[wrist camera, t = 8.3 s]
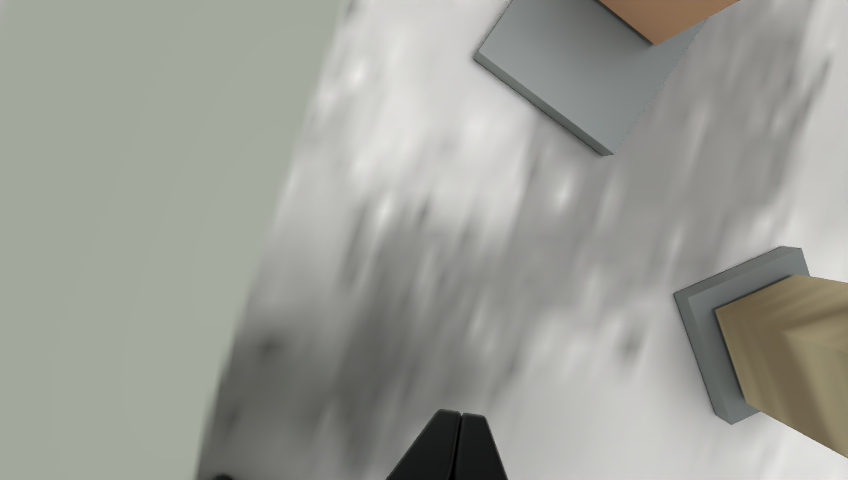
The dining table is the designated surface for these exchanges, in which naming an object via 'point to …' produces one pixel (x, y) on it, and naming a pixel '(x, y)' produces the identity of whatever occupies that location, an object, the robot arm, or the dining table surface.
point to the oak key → (794, 355)
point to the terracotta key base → (581, 65)
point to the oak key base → (707, 332)
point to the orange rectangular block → (664, 15)
